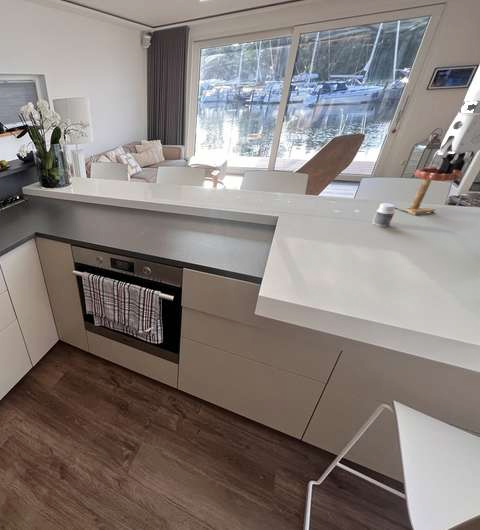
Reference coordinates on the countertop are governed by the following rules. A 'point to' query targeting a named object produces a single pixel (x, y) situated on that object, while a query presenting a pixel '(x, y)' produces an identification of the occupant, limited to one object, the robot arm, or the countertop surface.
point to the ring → (431, 174)
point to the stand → (420, 199)
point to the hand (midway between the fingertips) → (447, 174)
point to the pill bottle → (384, 215)
